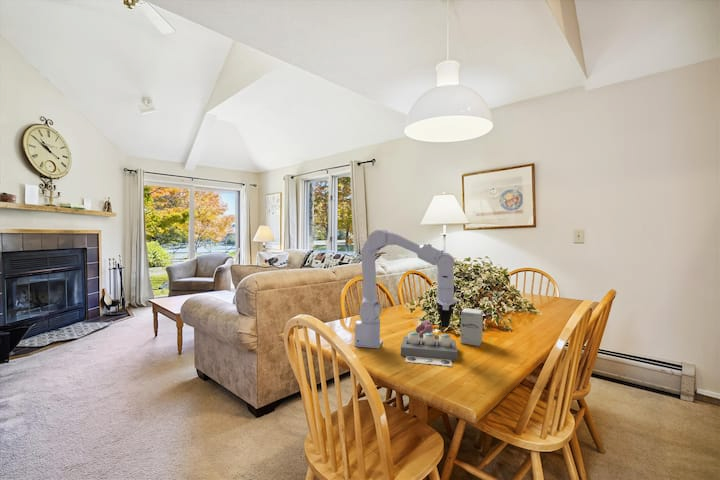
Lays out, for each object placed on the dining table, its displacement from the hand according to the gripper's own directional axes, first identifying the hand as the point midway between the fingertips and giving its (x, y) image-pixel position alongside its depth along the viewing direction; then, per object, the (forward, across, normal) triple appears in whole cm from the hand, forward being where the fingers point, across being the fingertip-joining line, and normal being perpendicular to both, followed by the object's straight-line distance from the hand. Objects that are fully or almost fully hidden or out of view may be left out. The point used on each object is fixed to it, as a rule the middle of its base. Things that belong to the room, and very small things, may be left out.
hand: (444, 325), depth 117 cm
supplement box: (+10, +14, -10) cm, 21 cm away
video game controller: (+10, +19, +8) cm, 23 cm away
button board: (+10, 0, +6) cm, 11 cm away
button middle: (+8, 0, +5) cm, 9 cm away
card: (+10, -9, +6) cm, 14 cm away
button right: (+8, 0, 0) cm, 8 cm away
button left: (+8, 0, +11) cm, 13 cm away
